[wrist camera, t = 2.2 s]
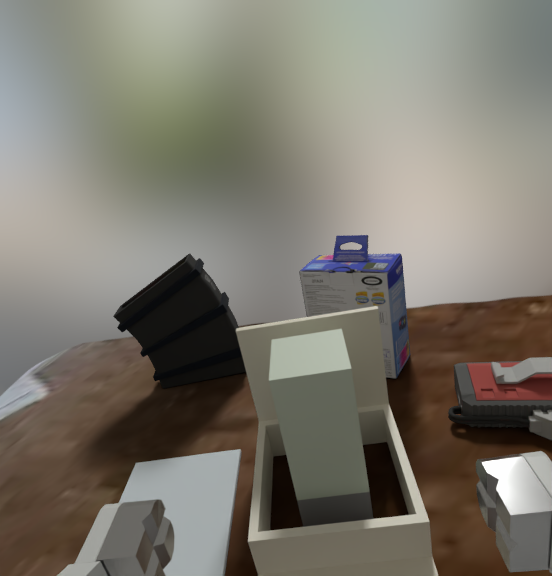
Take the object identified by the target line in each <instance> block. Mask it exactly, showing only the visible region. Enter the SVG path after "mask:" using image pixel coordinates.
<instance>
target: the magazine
mask: <svg viewBox="0 0 552 576" xmlns="http://www.w3.org/2000/svg"><path fill="white" fill-rule="evenodd" d="M203 265H204V263H203V261H202V260H201V259H198V260H195V259H194V258H193V257H192V255H191V254H188V255H187V256H186V257H184V258H183V259H182V260H180V261H179V262H178V263H176V264H175V265H174V266H172V267H171V268H170V269H168V270H167V271H166V272H164V273H163V274H162V275H161V276H159V277H158V278H157V279H155V280H154V281H153V282H151V283H150V284H149V285H148V286H146V287H145V288H143V289H142V290H141V291H140V292H138V293H137V294H136V295H134V296H133V297H132V298H130V299H129V300H128V301H126V302H125V303H124V304H123V305H121V306H120V307H119V309H118V310H117V312H116V313H115V315H114V317H115V318H116V319H117V320H118V321H119V322H120V324H119V326H118V329H119V330H120V331H121V332H124V331H125V330H126V329H127V330H128V331H129V332H130V333H131V334H132V335H133V336H134V337H135V338H136V339H137V340H138V342H139V343H140V345H141V346H142V347H143V349H142V351H141V355H142V356H143V357H144V356H146V355H148V356H149V358H150V360H151V362H152V364H153V366H154V368H155V370H156V371H155V373H154V376H153V378H154V380H155V381H157V380H160V383H161V386H162V388H169V387H174V386H179V385H184V384H189V383H194V382H199V381H204V380H209V379H214V378H219V377H225V376H230V375H235V374H240V373H245V372H246V369H245V365H244V361H243V357H242V353H241V350H240V346H239V342H238V338H237V334H236V329H237V328H239V327H238V325H237V322H236V319H235V317H234V315H233V313H232V312H231V310H230V308H229V306H228V302H229V298H228V297H227V295H226V293H225V292H224V293H222V294H221V293H220V291H219V289H218V288H217V286H216V284H215V283H214V281H213V280H212V279H211V277H210V276H209V275H208V274H207V273H206V272H205V270H204V269H203Z"/></svg>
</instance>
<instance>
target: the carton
mask: <svg viewBox="0 0 552 576" xmlns="http://www.w3.org/2000/svg"><path fill="white" fill-rule="evenodd" d="M337 329H342V332H343V336H344V340H345V344H346V348H347V353H348V357H349V361H350V365H351V369H352V376H353V383H354V389H355V396H356V403H357V410H358V417H359V423H360V430H361V437H362V444H363V445H367V444H375V443H382V442H387V443H388V447H389V450H390V453H391V457H392V460H393V463H394V467H395V470H396V473H397V477H398V480H399V484H400V487H401V490H402V494H403V497H404V500H405V504H406V507H407V510H408V514H409V515H404V516H395V517H386V518H377V519H368V520H360V521H351V522H342V523H333V524H324V525H315V526H306V527H297V528H288V529H279V530H270V522H271V499H272V476H273V457H274V456H282V455H286V451H285V447H284V443H283V439H282V434H281V430H280V426H279V422H278V418H277V413H276V409H275V405H274V401H273V396H272V392H271V388H270V384H269V371H270V357H271V343H272V340H273V339H279V338H286V337H292V336H298V335H305V334H311V333H318V332H324V331H330V330H337ZM236 334H237V338H238V342H239V346H240V350H241V353H242V357H243V361H244V365H245V369H246V373H247V377H248V381H249V384H250V388H251V392H252V396H253V400H254V404H255V408H256V412H257V416H258V419H259V427H258V438H257V449H256V460H255V470H254V481H253V492H252V502H251V513H250V524H249V534H248V544H249V547H250V550H251V554H252V557H253V560H254V563H255V566H256V570H257V573H258V576H438V573H437V570H436V567H435V564H434V561H433V558H432V548H431V536H430V523H429V519H428V516H427V513H426V510H425V507H424V504H423V502H422V499H421V496H420V493H419V490H418V487H417V484H416V481H415V478H414V475H413V472H412V470H411V467H410V464H409V461H408V458H407V455H406V452H405V449H404V446H403V443H402V440H401V438H400V435H399V432H398V429H397V426H396V423H395V420H394V417H393V414H392V411H391V408H390V406H389V400H388V391H387V383H386V374H385V365H384V356H383V347H382V338H381V329H380V320H379V311H378V307H377V306H373V307H367V308H361V309H355V310H348V311H342V312H336V313H330V314H323V315H317V316H311V317H305V318H298V319H293V320H286V321H280V322H273V323H267V324H261V325H255V326H248V327H242V328H237V329H236Z"/></svg>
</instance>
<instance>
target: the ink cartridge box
mask: <svg viewBox="0 0 552 576" xmlns="http://www.w3.org/2000/svg"><path fill="white" fill-rule="evenodd" d="M348 242H355V243H358V244H361V245H362V248H361V249H360V250H341V249H340V246H341V245H342V244H345V243H348ZM367 249H368V235H360V236H336V244H335V248H334V255H319V256H318V257H316V258H315V259H313V260H312V261H311V262H309V263H308V264H307V265H306V266H305V267H304V268H303V269H302V270H300V271H299V273H300V279H301V285H302V291H303V296H304V303H305V309H306V315H307V317H311V316H317V315H323V314H330V313H336V312H342V311H348V310H355V309H361V308H367V307H373V306H377V307H378V311H379V320H380V329H381V338H382V347H383V356H384V365H385V374H386V377H388V378H393V379H394V378H397V376H398V375H399V373H400V372H401V370H402V368H403V366H404V365H405V363H406V362H407V360H408V358H409V356H410V347H409V337H408V325H407V312H406V301H405V287H404V277H403V265H402V256H401V254H368V251H367Z"/></svg>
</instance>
